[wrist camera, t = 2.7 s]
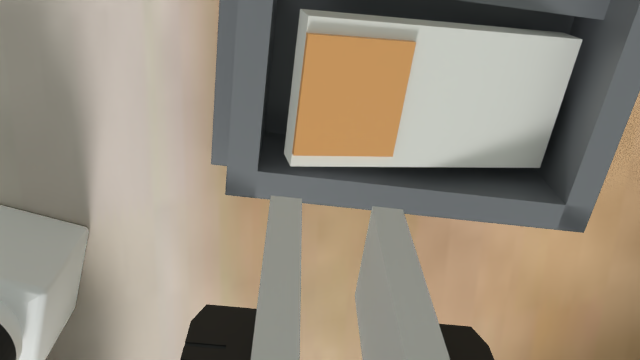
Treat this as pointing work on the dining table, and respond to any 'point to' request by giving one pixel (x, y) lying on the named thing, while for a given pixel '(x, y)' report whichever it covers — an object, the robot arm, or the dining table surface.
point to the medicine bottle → (37, 281)
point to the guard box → (430, 182)
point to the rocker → (423, 92)
